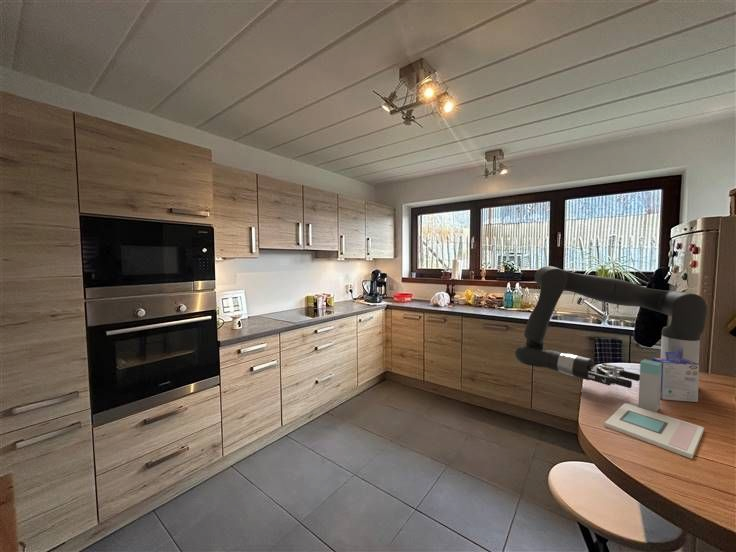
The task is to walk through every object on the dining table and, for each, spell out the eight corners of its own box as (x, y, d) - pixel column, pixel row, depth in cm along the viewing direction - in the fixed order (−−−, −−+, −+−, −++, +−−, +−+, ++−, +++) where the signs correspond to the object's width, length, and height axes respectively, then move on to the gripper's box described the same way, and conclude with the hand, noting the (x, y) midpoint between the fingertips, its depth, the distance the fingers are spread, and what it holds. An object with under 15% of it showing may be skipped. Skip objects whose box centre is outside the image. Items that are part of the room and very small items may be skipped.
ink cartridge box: (684, 394, 97) (686, 351, 96) (699, 402, 91) (702, 357, 90) (649, 392, 99) (651, 350, 98) (662, 400, 93) (664, 355, 92)
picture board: (624, 406, 89) (624, 402, 89) (703, 431, 76) (704, 427, 76) (604, 426, 79) (604, 422, 79) (692, 458, 66) (692, 454, 66)
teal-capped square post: (641, 402, 91) (643, 359, 91) (659, 408, 88) (662, 362, 87) (638, 406, 89) (640, 361, 88) (656, 412, 86) (658, 365, 85)
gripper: (567, 359, 100) (629, 374, 87) (583, 351, 108) (642, 364, 95) (566, 381, 100) (628, 399, 87) (582, 371, 108) (641, 386, 95)
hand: (635, 381), depth 91 cm, fingers open, 8 cm apart
